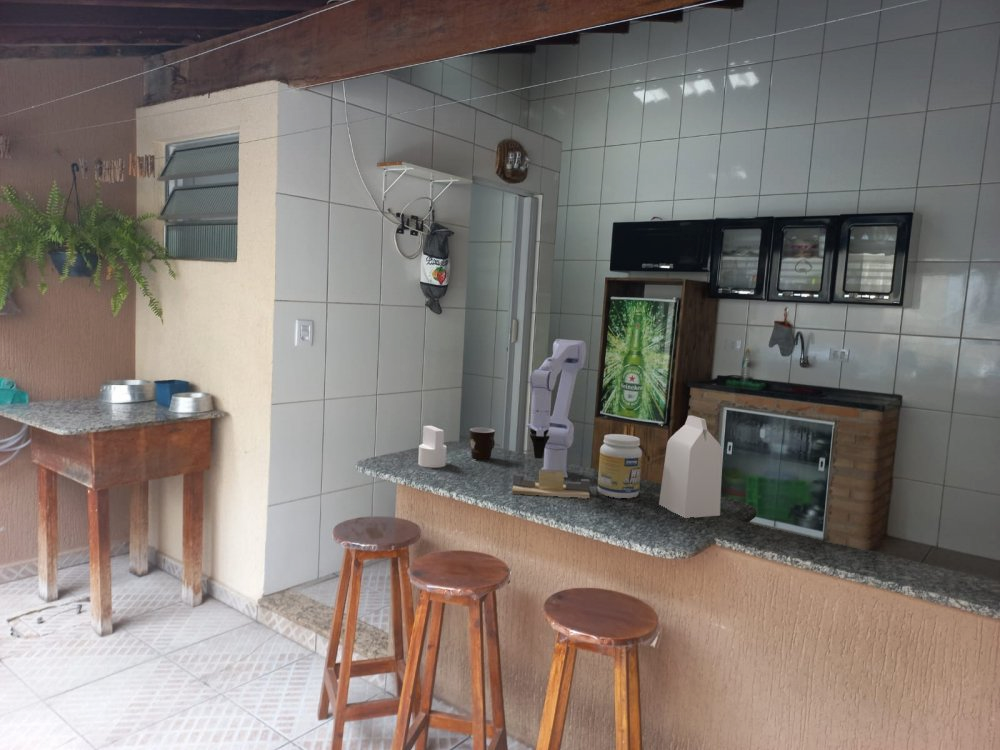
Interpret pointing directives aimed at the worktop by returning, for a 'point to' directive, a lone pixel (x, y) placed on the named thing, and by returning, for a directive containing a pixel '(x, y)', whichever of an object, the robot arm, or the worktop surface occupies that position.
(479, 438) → the coffee mug
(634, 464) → the supplement tub
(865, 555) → the worktop surface
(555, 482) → the gold rectangular block
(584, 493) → the wooden board
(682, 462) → the milk
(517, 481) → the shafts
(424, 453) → the base with upright slab
